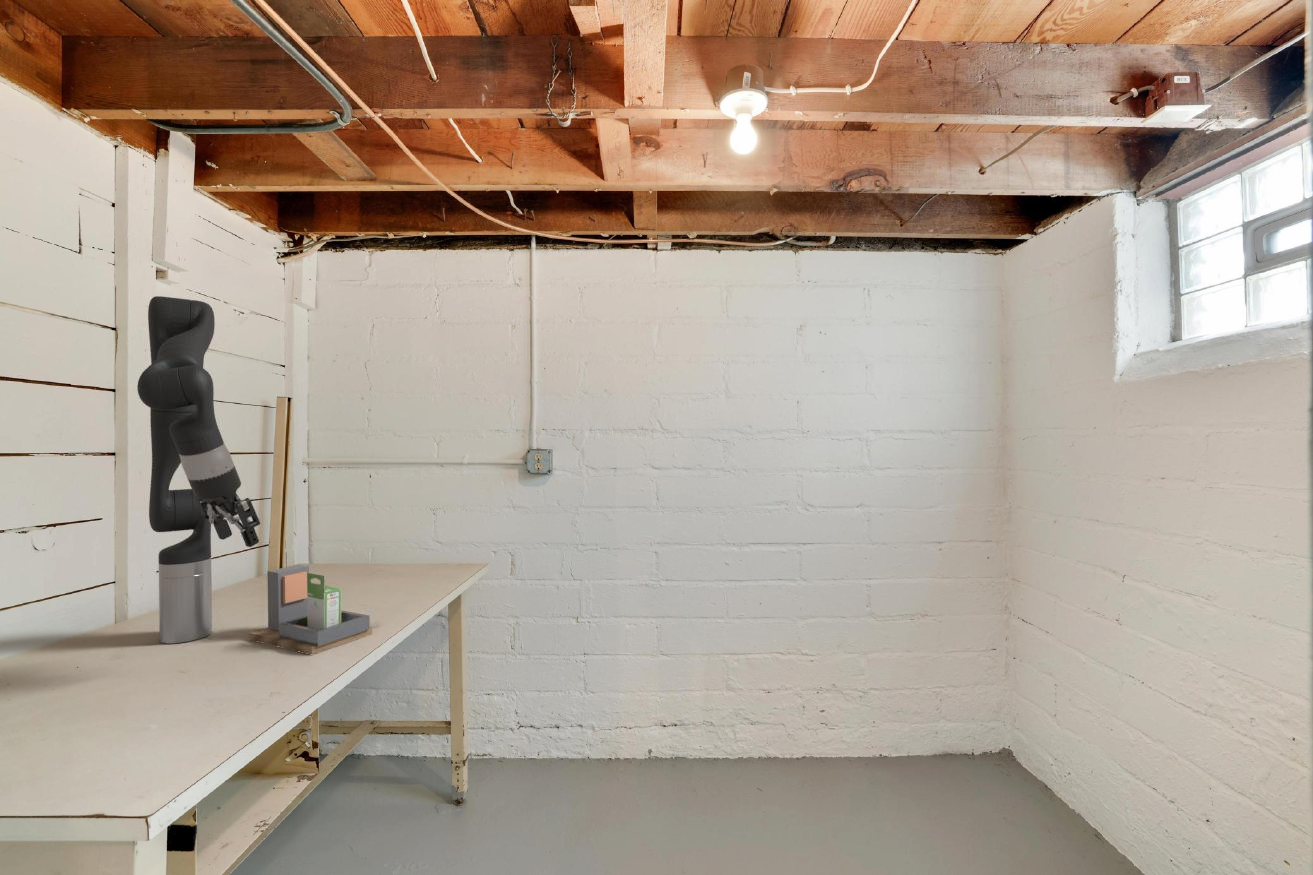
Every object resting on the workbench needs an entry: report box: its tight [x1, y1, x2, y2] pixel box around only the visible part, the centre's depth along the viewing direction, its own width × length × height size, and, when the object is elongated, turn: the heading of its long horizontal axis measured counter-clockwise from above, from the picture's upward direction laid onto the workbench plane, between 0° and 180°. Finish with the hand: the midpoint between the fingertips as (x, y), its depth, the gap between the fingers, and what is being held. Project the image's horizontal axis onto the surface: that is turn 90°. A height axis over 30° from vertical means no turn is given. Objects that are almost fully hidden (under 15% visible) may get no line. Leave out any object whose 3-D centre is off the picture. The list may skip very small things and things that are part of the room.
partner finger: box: [267, 564, 310, 631], centre depth 133 cm, size 5×7×13 cm
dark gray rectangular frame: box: [280, 609, 371, 646], centre depth 129 cm, size 19×12×3 cm, turn 64°
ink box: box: [307, 572, 342, 630], centre depth 128 cm, size 7×4×13 cm, turn 58°
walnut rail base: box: [248, 626, 373, 655], centre depth 130 cm, size 22×14×2 cm, turn 64°
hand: (239, 541), depth 118 cm, fingers open, 8 cm apart
